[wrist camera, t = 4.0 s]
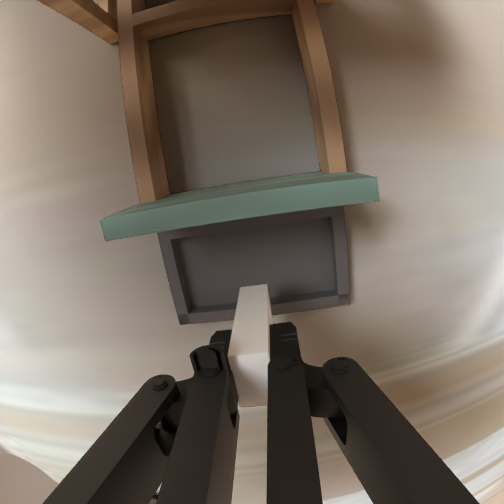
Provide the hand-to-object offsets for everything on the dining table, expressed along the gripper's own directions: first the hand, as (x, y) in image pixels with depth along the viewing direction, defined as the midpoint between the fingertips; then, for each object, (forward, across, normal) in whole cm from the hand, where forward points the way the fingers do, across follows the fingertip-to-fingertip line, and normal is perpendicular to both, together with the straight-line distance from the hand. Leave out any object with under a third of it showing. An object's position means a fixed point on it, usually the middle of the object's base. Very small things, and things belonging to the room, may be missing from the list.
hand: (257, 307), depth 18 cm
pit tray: (+5, 0, +1) cm, 5 cm away
